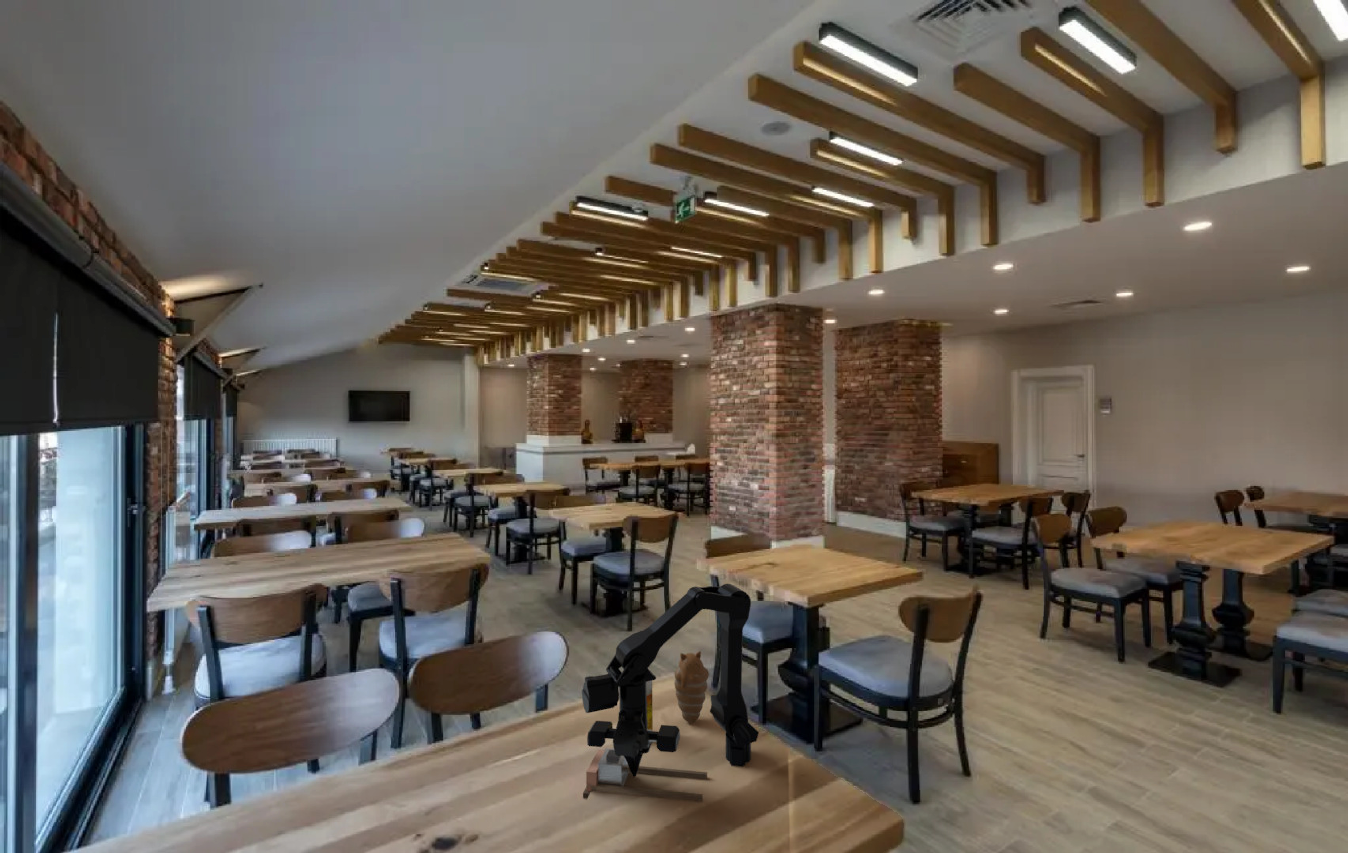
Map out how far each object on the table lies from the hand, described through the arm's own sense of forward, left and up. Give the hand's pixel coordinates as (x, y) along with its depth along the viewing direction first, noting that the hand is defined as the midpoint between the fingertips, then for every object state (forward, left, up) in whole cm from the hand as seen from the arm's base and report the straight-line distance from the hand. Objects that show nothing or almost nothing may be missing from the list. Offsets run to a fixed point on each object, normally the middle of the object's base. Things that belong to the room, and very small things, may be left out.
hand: (634, 775), depth 131 cm
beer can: (-19, -3, -3) cm, 20 cm away
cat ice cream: (-29, +8, -3) cm, 30 cm away
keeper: (0, -5, -1) cm, 5 cm away
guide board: (0, +3, -3) cm, 4 cm away
